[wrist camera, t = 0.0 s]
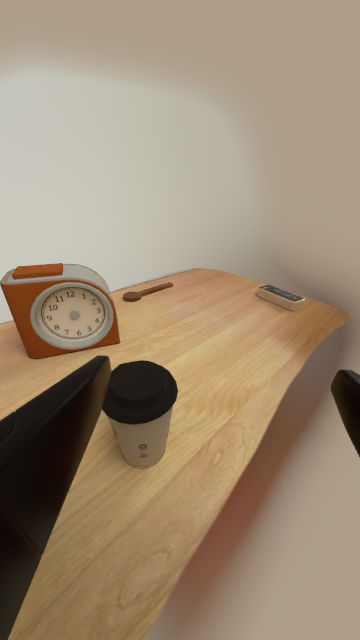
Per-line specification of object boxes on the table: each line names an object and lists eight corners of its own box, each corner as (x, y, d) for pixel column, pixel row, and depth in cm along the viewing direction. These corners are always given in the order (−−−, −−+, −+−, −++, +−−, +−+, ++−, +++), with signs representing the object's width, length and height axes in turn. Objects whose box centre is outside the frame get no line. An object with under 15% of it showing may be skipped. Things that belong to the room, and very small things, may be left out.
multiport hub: (292, 311, 54) (295, 302, 53) (256, 295, 62) (257, 287, 61) (303, 307, 56) (305, 298, 55) (266, 292, 64) (268, 284, 63)
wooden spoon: (166, 283, 68) (166, 280, 68) (176, 287, 66) (176, 284, 65) (120, 297, 59) (119, 294, 58) (129, 303, 56) (129, 300, 56)
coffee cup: (184, 427, 27) (187, 361, 22) (162, 492, 21) (160, 422, 16) (131, 412, 29) (123, 347, 24) (97, 467, 23) (77, 397, 18)
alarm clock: (25, 362, 36) (-8, 281, 29) (33, 334, 43) (7, 263, 36) (120, 344, 41) (111, 270, 34) (113, 321, 48) (104, 256, 41)
